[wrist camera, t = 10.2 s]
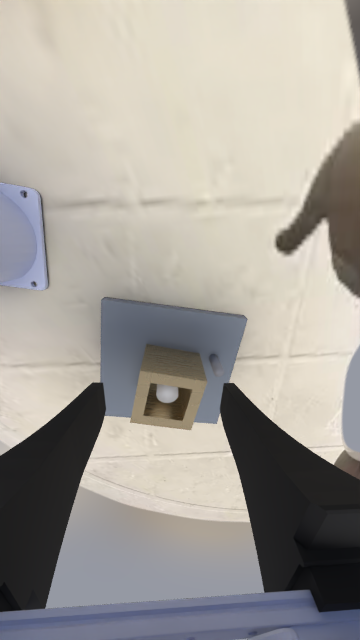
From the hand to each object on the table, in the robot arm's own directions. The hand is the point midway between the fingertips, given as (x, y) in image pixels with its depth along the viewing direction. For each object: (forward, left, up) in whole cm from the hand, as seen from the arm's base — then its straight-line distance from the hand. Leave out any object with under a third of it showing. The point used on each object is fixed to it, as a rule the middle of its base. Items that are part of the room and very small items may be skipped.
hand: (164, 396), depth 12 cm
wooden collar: (+1, -4, -8) cm, 9 cm away
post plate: (+1, -4, -9) cm, 10 cm away
